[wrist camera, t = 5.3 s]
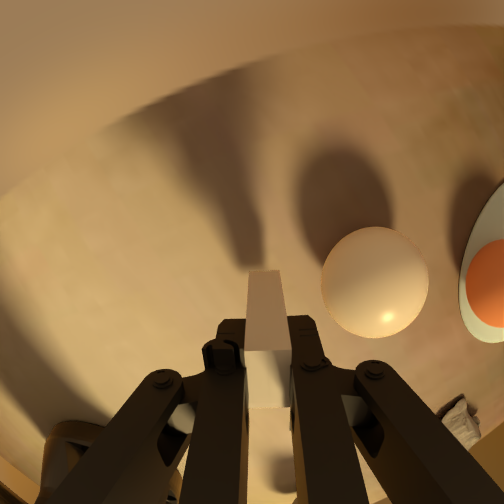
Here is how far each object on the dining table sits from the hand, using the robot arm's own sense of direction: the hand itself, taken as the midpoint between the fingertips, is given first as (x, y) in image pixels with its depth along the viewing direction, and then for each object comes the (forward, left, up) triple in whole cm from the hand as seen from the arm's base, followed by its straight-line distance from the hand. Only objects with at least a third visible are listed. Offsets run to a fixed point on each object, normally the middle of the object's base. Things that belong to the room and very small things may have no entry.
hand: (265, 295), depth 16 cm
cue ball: (+5, -3, +1) cm, 6 cm away
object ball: (+11, -10, +1) cm, 15 cm away
